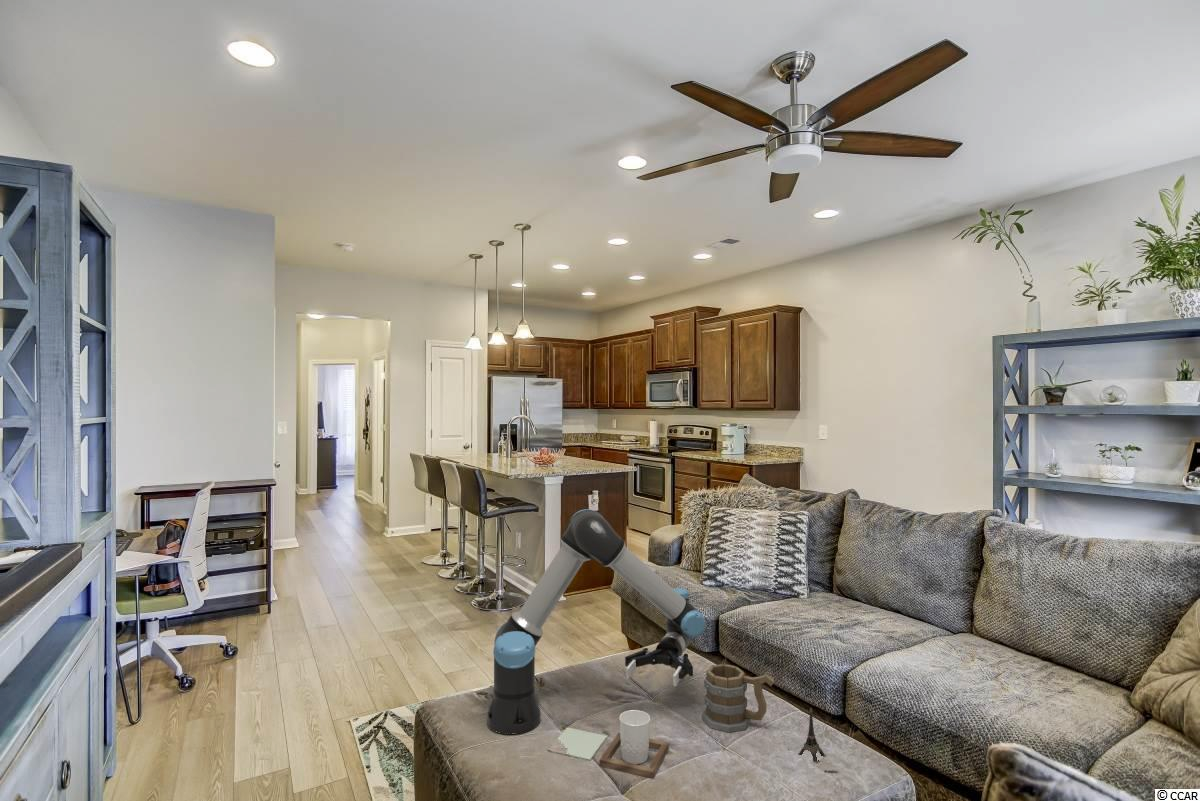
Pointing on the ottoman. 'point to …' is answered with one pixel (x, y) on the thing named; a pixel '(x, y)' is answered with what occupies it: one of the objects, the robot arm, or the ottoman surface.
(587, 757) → the sage tile
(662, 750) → the walnut collar
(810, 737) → the eiffel tower figurine
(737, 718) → the tankard
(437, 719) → the ottoman surface
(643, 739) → the white cup
